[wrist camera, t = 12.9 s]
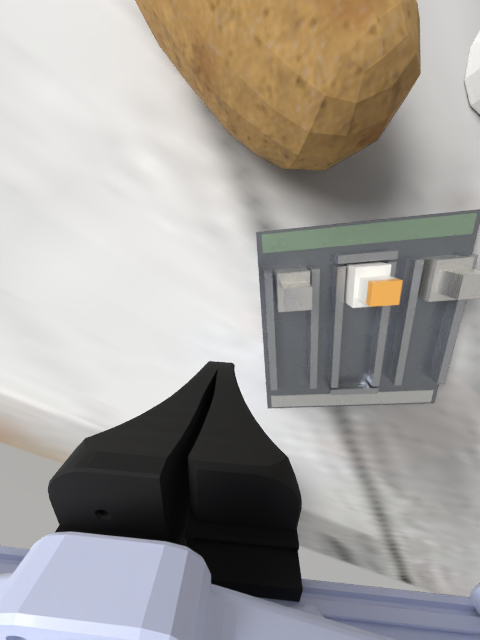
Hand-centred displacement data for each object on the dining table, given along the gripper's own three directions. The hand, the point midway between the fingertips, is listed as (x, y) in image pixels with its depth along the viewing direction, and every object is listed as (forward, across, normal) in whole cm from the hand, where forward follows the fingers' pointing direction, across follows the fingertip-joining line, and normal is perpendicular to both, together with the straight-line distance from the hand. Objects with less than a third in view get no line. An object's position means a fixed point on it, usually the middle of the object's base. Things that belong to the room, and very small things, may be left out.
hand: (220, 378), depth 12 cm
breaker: (+9, -10, -4) cm, 14 cm away
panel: (+10, -10, 0) cm, 14 cm away
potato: (+10, -1, -17) cm, 20 cm away
